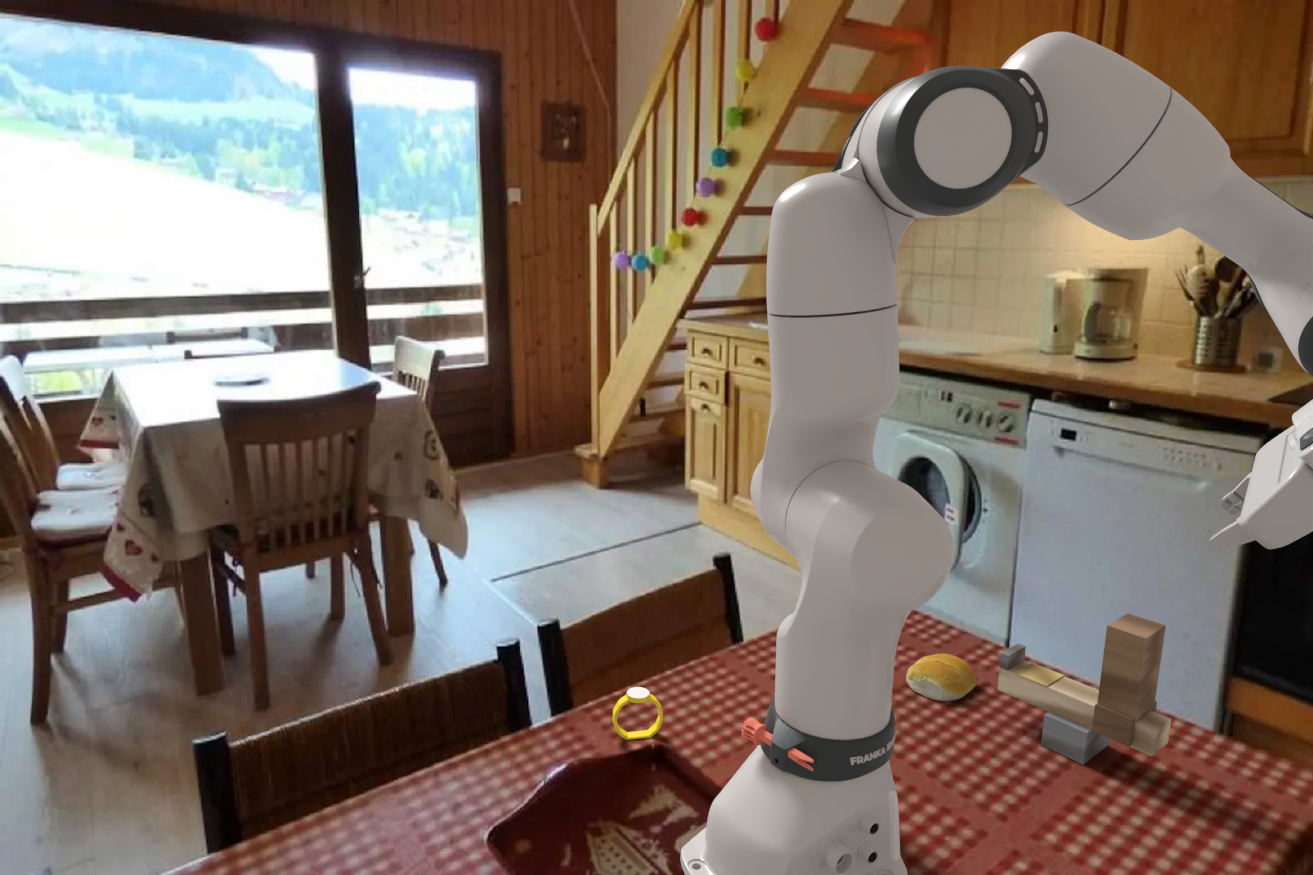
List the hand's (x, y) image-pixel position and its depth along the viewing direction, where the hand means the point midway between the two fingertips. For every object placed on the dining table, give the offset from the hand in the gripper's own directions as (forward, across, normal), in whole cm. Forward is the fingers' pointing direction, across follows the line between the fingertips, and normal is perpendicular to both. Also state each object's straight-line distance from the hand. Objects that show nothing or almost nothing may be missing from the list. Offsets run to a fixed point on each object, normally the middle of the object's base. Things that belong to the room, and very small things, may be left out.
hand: (1221, 526), depth 86 cm
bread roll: (+42, -1, -3) cm, 42 cm away
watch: (+54, +32, -26) cm, 68 cm away
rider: (+24, +3, +11) cm, 26 cm away
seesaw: (+30, +3, +10) cm, 32 cm away
